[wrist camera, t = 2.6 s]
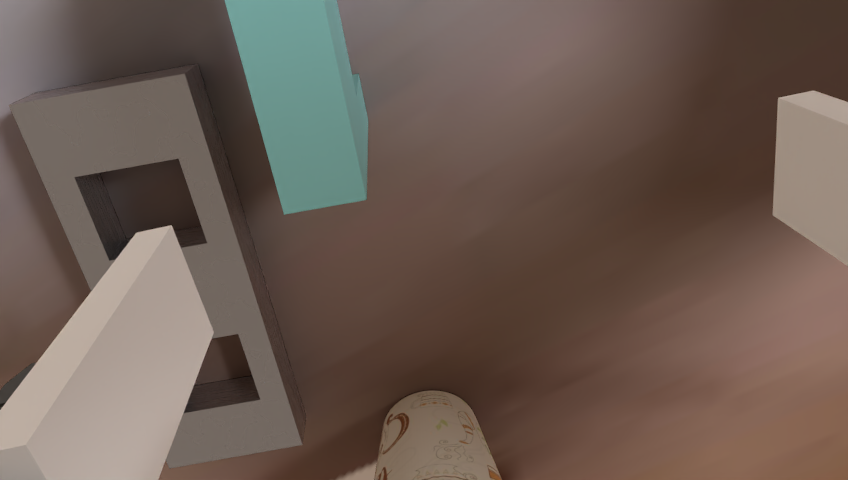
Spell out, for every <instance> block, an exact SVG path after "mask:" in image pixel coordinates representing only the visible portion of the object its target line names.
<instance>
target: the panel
mask: <svg viewBox="0 0 848 480" xmlns="http://www.w3.org/2000/svg"><path fill="white" fill-rule="evenodd" d="M225 4H226V8H227V11H228V15H229V18H230V22H231V26H232V29H233V33H234V36H235V40H236V44H237V47H238V51H239V54H240V58H241V62H242V65H243V69H244V72H245V76H246V80H247V83H248V87H249V90H250V94H251V98H252V101H253V105H254V108H255V112H256V116H257V119H258V123H259V126H260V130H261V134H262V137H263V141H264V144H265V148H266V152H267V155H268V159H269V162H270V166H271V170H272V173H273V177H274V180H275V184H276V188H277V191H278V195H279V198H280V202H281V206H282V209H283V213H284V215H285V214H290V213H296V212H301V211H307V210H313V209H318V208H324V207H329V206H335V205H341V204H346V203H352V202H358V201H363V200H367V160H368V117H367V112H366V107H365V102H364V97H363V92H362V87H361V82H360V77H359V74H353V75H352V72H351V67H350V62H349V57H348V52H347V48H346V43H345V38H344V33H343V28H342V24H341V19H340V14H339V9H338V4H337V0H225Z"/></svg>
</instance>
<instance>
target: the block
mask: <svg viewBox="0 0 848 480" xmlns="http://www.w3.org/2000/svg"><path fill="white" fill-rule="evenodd" d="M9 107H10V109H11V111H12V114H13V116H14V118H15V120H16V123H17V125H18V127H19V129H20V132H21V134H22V136H23V139H24V141H25V143H26V145H27V148H28V150H29V152H30V154H31V157H32V159H33V161H34V163H35V166H36V168H37V170H38V172H39V175H40V177H41V179H42V181H43V184H44V186H45V188H46V191H47V193H48V195H49V197H50V200H51V202H52V204H53V206H54V209H55V211H56V213H57V215H58V218H59V220H60V222H61V224H62V227H63V229H64V231H65V234H66V236H67V238H68V240H69V243H70V245H71V247H72V249H73V252H74V254H75V256H76V258H77V261H78V263H79V265H80V267H81V270H82V272H83V274H84V276H85V279H86V281H87V283H88V286H89V288H90V290H91V291H92V290H93V289H94V287H95V286H96V285H97V283H98V282H99V281H100V279H101V278H102V277H103V276H104V274H105V273H106V272H107V270H108V269H109V268H110V266H111V265H112V264H113V263H114V261H115V260H116V259H117V257H118V256H119V255H120V253H121V252H122V251H123V249H124V248H125V247H126V246H127V244H128V243H129V242H130V240H131V239H127V240H126V238H125V235H124V233H123V230H122V228H121V225H120V223H119V220H118V218H117V215H116V213H115V210H114V208H113V205H112V203H111V200H110V198H109V195H108V193H107V190H106V188H105V185H104V183H103V180H102V178H101V175H100V173H101V172H106V171H112V170H117V169H123V168H129V167H134V166H140V165H145V164H151V163H157V162H162V161H168V160H173V159H179V162H180V165H181V168H182V171H183V173H184V176H185V179H186V182H187V185H188V188H189V191H190V194H191V197H192V200H193V203H194V206H195V209H196V212H197V215H198V218H199V220H200V223H201V226H200V227H194V228H189V229H183V230H178V231H174V232H175V235H176V237H177V240H178V242H179V245H180V247H181V250H182V253H183V255H184V258H185V260H186V263H187V265H188V268H189V270H190V273H191V275H192V278H193V280H194V283H195V286H196V288H197V291H198V293H199V296H200V298H201V301H202V303H203V306H204V308H205V311H206V314H207V316H208V319H209V321H210V324H211V326H212V329H213V331H214V333H213V336H212V339H213V338H218V337H224V336H230V335H235V334H238V335H239V338H240V341H241V344H242V347H243V350H244V353H245V356H246V359H247V361H248V364H249V367H250V370H251V373H252V376H247V377H241V378H235V379H230V380H224V381H219V382H213V383H207V384H202V385H196V386H193V389H192V392H191V394H190V397H189V400H188V402H187V405H186V408H185V410H184V413H183V415H182V418H181V421H180V423H179V426H178V429H177V431H176V434H175V437H174V439H173V442H172V445H171V447H170V450H169V453H168V455H167V458H166V462H167V464H168V466H169V468H175V467H181V466H186V465H192V464H198V463H203V462H209V461H215V460H220V459H226V458H232V457H237V456H243V455H248V454H254V453H260V452H265V451H271V450H277V449H282V448H288V447H294V446H299V445H302V444H303V437H304V429H305V422H306V414H305V411H304V408H303V405H302V401H301V398H300V395H299V392H298V388H297V385H296V382H295V379H294V375H293V372H292V369H291V366H290V362H289V359H288V356H287V353H286V349H285V346H284V343H283V339H282V336H281V333H280V330H279V326H278V323H277V320H276V317H275V313H274V310H273V307H272V304H271V300H270V297H269V294H268V291H267V287H266V284H265V281H264V277H263V274H262V271H261V268H260V264H259V261H258V258H257V255H256V251H255V248H254V245H253V242H252V238H251V235H250V232H249V229H248V225H247V222H246V219H245V216H244V212H243V209H242V206H241V202H240V199H239V196H238V193H237V189H236V186H235V183H234V180H233V176H232V173H231V170H230V167H229V163H228V160H227V157H226V154H225V150H224V147H223V144H222V140H221V137H220V134H219V131H218V127H217V124H216V121H215V118H214V114H213V111H212V108H211V105H210V101H209V98H208V95H207V92H206V88H205V85H204V82H203V79H202V75H201V72H200V69H199V65H198V64H193V65H188V66H182V67H177V68H171V69H166V70H160V71H154V72H149V73H143V74H138V75H132V76H126V77H121V78H115V79H110V80H104V81H99V82H93V83H87V84H82V85H76V86H71V87H65V88H59V89H54V90H48V91H43V92H37V93H34V94H31V95H29V96H27V97H25V98H23V99H21V100H19V101H16V102H14V103H12V104H10V105H9Z"/></svg>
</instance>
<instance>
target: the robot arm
mask: <svg viewBox="0 0 848 480" xmlns="http://www.w3.org/2000/svg"><path fill="white" fill-rule="evenodd" d="M773 216H775V217H776V218H777V219H779V220H780V221H782V222H783V223H785V224H786V225H788V226H789V227H791V228H792V229H794V230H795V231H797V232H798V233H800V234H801V235H803V236H804V237H806V238H807V239H809V240H810V241H811V242H813V243H814V244H816V245H817V246H819V247H820V248H822V249H823V250H825V251H826V252H828V253H829V254H831V255H832V256H834V257H835V258H837V259H838V260H840V261H841V262H843V263H844V264H846V265H847V266H848V102H846V101H843V100H840V99H837V98H834V97H832V96H829V95H826V94H823V93H820V92H817V91H814V90H813V91H808V92H804V93H799V94H794V95H789V96H785V97H780V98H778V110H777V132H776V154H775V175H774V197H773ZM213 333H214V331H213V329H212V326H211V324H210V321H209V319H208V316H207V314H206V311H205V308H204V306H203V303H202V301H201V298H200V296H199V293H198V291H197V288H196V286H195V283H194V280H193V278H192V275H191V273H190V270H189V268H188V265H187V263H186V260H185V258H184V255H183V253H182V250H181V247H180V245H179V242H178V240H177V237H176V235H175V232H174V230H173V227H172V225H170V226H165V227H161V228H156V229H151V230H146V231H142V232H137V233H136V234H135V235H134V236H133V238H132V239H131V240H130V242H129V243H128V244H127V246H126V247H125V248H124V249H123V251H122V252H121V253H120V255H119V256H118V257H117V259H116V260H115V261H114V263H113V264H112V265H111V266H110V268H109V269H108V270H107V272H106V273H105V274H104V276H103V277H102V278H101V279H100V281H99V282H98V283H97V285H96V286H95V287H94V289H93V290H92V291H91V292H90V294H89V295H88V296H87V298H86V299H85V300H84V302H83V303H82V304H81V306H80V307H79V308H78V309H77V311H76V312H75V313H74V315H73V316H72V317H71V319H70V320H69V321H68V322H67V324H66V325H65V326H64V328H63V329H62V330H61V332H60V333H59V334H58V335H57V337H56V338H55V339H54V341H53V342H52V343H51V345H50V346H49V347H48V349H47V350H46V351H45V352H44V354H43V355H42V356H41V358H40V359H39V360H38V362H37V363H32V364H30V365H29V366H28V367H26V368H25V369H24V370H23V371H21V372H20V373H19V374H18V375H16V376H15V377H14V378H13V379H11V380H10V381H9V382H7V383H6V384H5V385H4V386H3V387H2V389H1V390H0V480H158V479H159V476H160V474H161V471H162V469H163V466H164V463H165V461H166V458H167V455H168V453H169V450H170V447H171V445H172V442H173V439H174V437H175V434H176V431H177V429H178V426H179V423H180V421H181V418H182V415H183V413H184V410H185V408H186V405H187V402H188V400H189V397H190V394H191V392H192V389H193V386H194V384H195V381H196V378H197V376H198V373H199V370H200V368H201V365H202V362H203V360H204V357H205V354H206V352H207V349H208V347H209V344H210V341H211V339H212V336H213Z"/></svg>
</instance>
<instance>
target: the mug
mask: <svg viewBox="0 0 848 480" xmlns="http://www.w3.org/2000/svg"><path fill="white" fill-rule="evenodd" d="M374 480H502V479H501V477H500V474H499V472H498V469H497V467H496V465H495V462H494V460H493V457H492V455H491V453H490V450H489V448H488V445H487V443H486V441H485V438H484V436H483V433H482V431H481V429H480V426H479V424H478V421H477V419H476V417H475V415H474V413H473V411H472V409H471V408H470V407H469V405H468V404H467V403H466V402H465V401H463V400H462V399H461V398H459V397H457V396H455V395H453V394H451V393H447V392H443V391H422V392H418V393H414V394H412V395H409V396H407V397H405V398H403V399H402V400H400V401H399V402H398V403H396V404H395V405H394V406H393V407H392V408H391V410H390V411H389V413H388V414H387V416H386V418H385V421H384V424H383V430H382V435H381V441H380V447H379V454H378V460H377V466H376V472H375V479H374Z"/></svg>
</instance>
